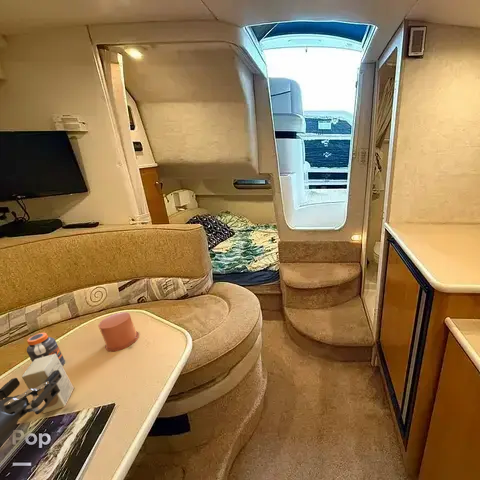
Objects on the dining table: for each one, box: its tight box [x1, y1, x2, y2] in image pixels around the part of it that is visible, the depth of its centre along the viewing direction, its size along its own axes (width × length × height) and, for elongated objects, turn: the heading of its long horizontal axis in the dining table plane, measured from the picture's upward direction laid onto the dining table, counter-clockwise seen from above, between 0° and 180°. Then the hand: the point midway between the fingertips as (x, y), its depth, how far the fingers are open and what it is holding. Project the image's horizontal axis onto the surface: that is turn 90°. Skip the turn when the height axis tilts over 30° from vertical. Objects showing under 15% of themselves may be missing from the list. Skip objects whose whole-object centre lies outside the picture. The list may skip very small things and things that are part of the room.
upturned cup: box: [97, 311, 140, 353], centre depth 88 cm, size 9×9×9 cm
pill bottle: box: [26, 332, 66, 367], centre depth 78 cm, size 6×6×11 cm
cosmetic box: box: [21, 354, 75, 414], centre depth 67 cm, size 6×4×12 cm
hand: (37, 376), depth 64 cm, fingers open, 8 cm apart
